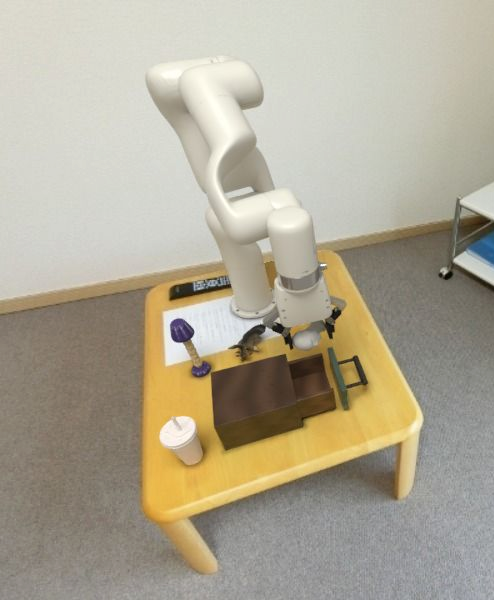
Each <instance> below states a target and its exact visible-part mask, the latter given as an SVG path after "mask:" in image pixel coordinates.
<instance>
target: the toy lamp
mask: <svg viewBox="0 0 494 600" xmlns="http://www.w3.org/2000/svg"><path fill="white" fill-rule="evenodd" d="M169 330H170V339H171V341H173V342H175V343H176V344H177V343H178V344H183V346H184V348H185V350H186V351H187V354H188V355H189V358H190V359H191V362H192V363H193V366H192V367H191V375H192V376H193V377H196V378H203V377H205V376H207V375H208V374H209V373H211V369H212V366H211V364H210V363H209V362H207V361H205V360H201V356H200V355H199V353H198V351H197V348H196V347H195V345H194V343H193V340H192V339H193V338H194V336H195V329H194V328H193V326H191V324H190V323H189V322H187V320H185V319H184V318H181V317H178V318H175V319H172V321H171V322H170V324H169Z"/></svg>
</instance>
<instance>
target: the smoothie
mask: <svg viewBox="0 0 494 600" xmlns="http://www.w3.org/2000/svg"><path fill="white" fill-rule="evenodd" d="M158 438H159V442H160V443H161V445H162V446H163V447H164V448H165V449H169V450H170V451H171V452H172V453H173V454H174V455H175V456H176V457H177V458H178V459H179V460H181V461H182V463H184V464H185V465H187V466H194V465H196V464H198V463H199V462H200V461H201V460H202V458H203V457H204V451H203V448H202V445H201V441H200V437H199V434H198V425H197V423H196V421H195V420H194V419H193V418H192V417H190V416H188V415H187V416H186V415H181V416H176V417H175V416H174V415H173V416H171V417H170V420H168V421H167V422H166V423H165V424H164V425H163V426H162V427H161V429H160V431H159V435H158Z"/></svg>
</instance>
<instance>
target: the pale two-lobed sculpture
mask: <svg viewBox="0 0 494 600" xmlns="http://www.w3.org/2000/svg"><path fill="white" fill-rule="evenodd" d="M323 332H326V325H325V320H324V319H323V320H319V321H315V322H311V323H309V325H308V326H307V327H306V328H304V329H300V330H298V331H296V332H295V333H293V335H292V336H291V338H292V343H293V347H294V348H296V349H297V350H299V351H302V352H307V351H311V350H312V349H313V348H316V347H318V346H319V345H320V340H321V339H322V335H321V333H323Z"/></svg>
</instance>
